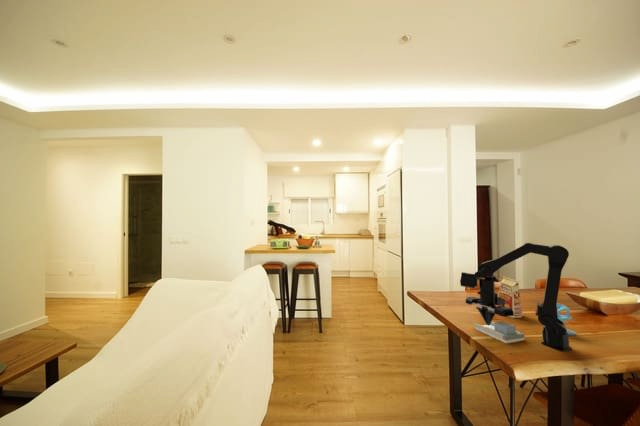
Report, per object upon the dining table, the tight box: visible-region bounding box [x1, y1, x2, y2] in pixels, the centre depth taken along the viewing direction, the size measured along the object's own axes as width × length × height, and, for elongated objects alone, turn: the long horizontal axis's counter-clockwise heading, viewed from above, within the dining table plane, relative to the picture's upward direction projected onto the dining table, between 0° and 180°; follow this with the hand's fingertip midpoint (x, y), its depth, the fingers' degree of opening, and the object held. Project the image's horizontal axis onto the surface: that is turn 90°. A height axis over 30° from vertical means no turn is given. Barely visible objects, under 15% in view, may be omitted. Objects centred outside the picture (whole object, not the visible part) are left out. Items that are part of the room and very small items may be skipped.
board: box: [474, 320, 525, 344], centre depth 101 cm, size 14×10×2 cm
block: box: [494, 321, 517, 335], centre depth 98 cm, size 5×5×4 cm
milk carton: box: [496, 275, 523, 319], centre depth 125 cm, size 9×9×20 cm
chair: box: [556, 303, 577, 336], centre depth 104 cm, size 8×8×12 cm
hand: (488, 325), depth 106 cm, fingers closed
